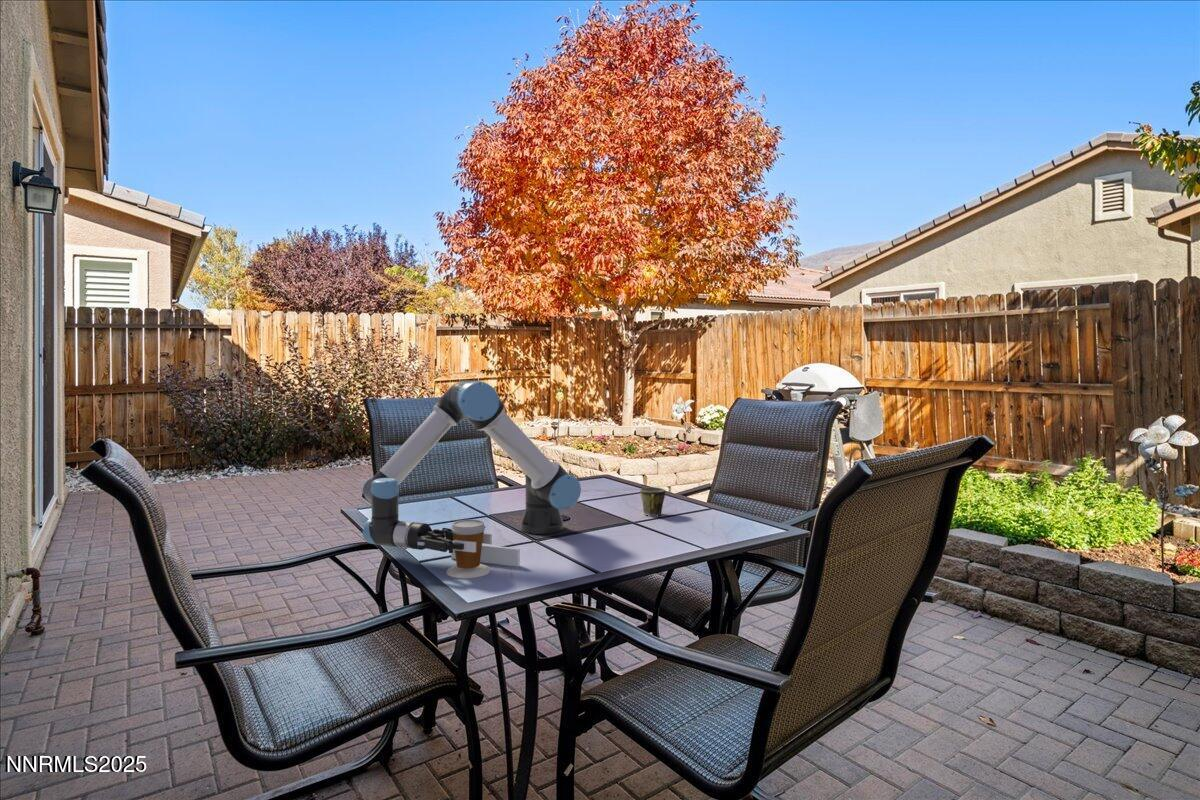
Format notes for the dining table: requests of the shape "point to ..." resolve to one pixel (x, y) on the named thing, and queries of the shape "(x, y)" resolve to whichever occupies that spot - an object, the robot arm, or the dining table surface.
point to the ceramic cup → (652, 500)
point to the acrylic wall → (498, 555)
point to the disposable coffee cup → (468, 532)
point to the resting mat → (468, 572)
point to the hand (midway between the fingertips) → (483, 543)
